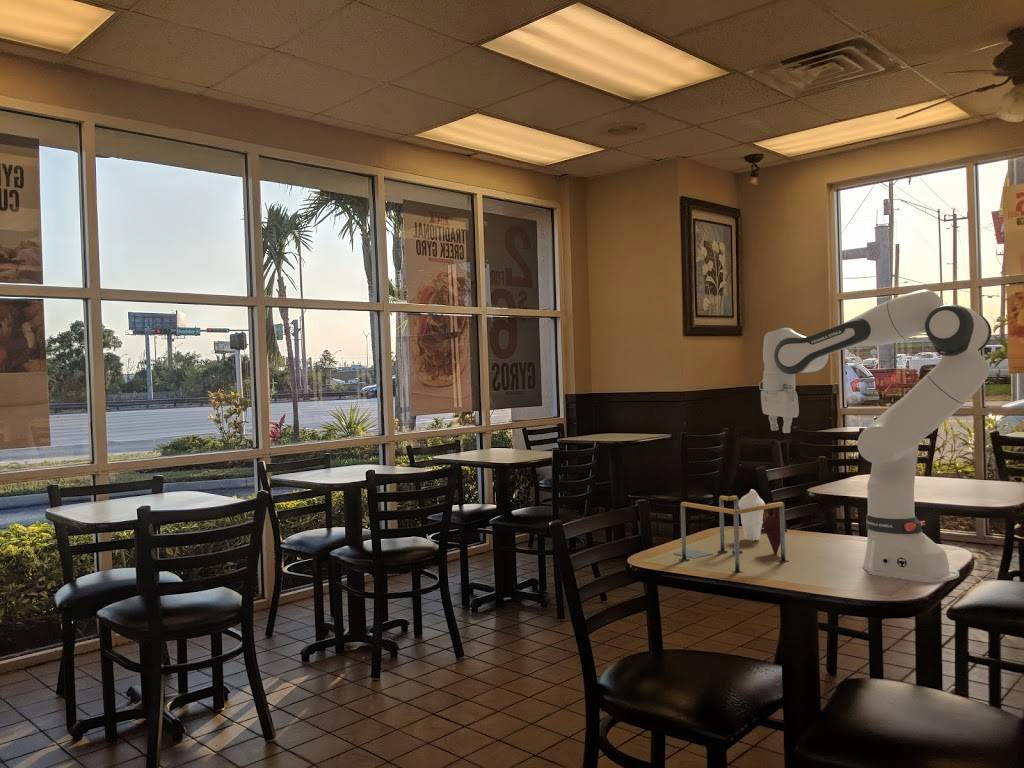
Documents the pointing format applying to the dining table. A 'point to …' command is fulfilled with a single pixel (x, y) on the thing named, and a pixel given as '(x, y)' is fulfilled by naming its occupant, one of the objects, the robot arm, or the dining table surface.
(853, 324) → the robot arm
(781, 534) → the wire frame
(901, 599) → the dining table surface
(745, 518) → the soft serve ice cream cone
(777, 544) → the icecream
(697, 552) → the mat
